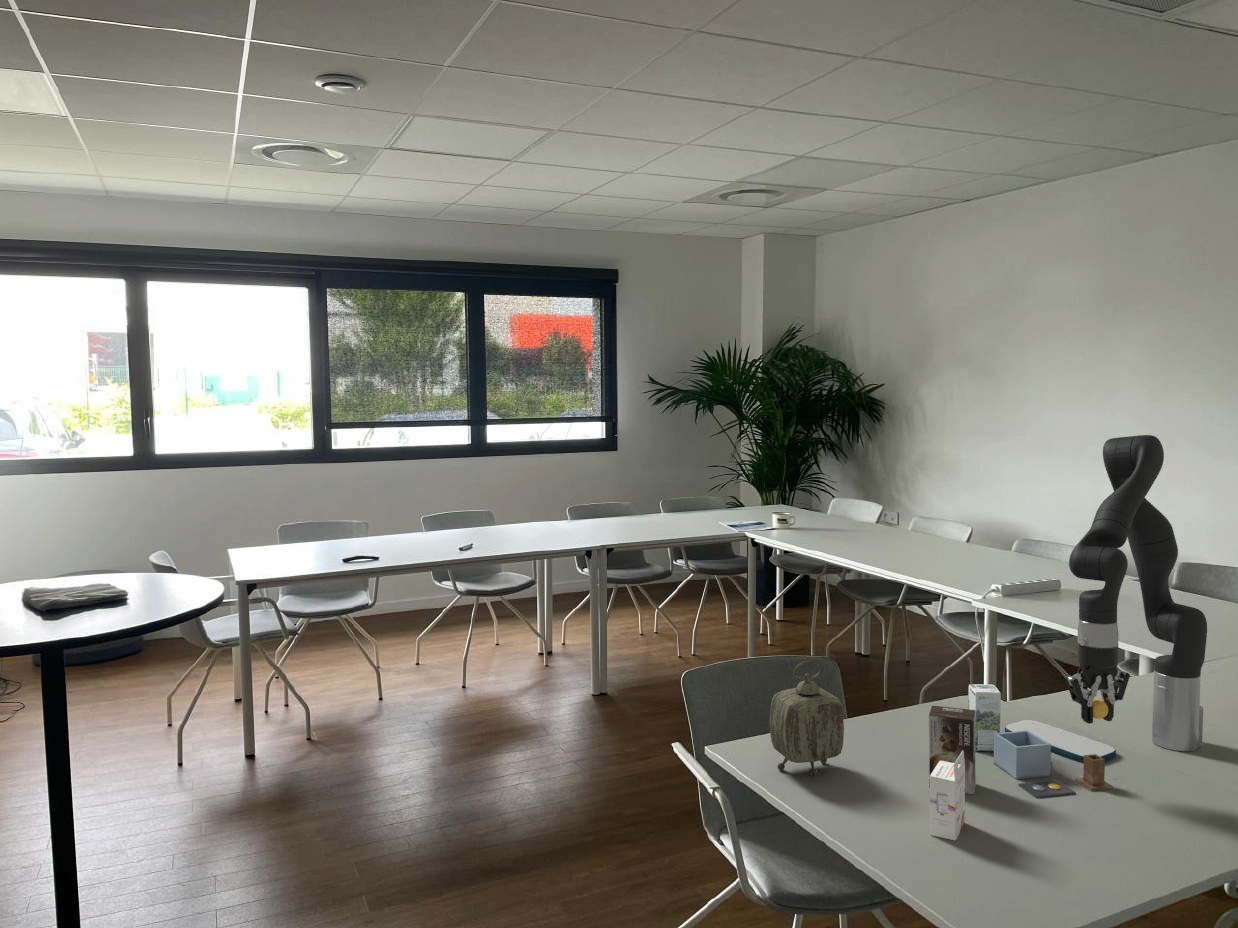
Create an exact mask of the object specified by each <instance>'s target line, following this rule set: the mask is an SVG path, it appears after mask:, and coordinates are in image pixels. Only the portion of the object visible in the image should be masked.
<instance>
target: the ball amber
mask: <svg viewBox="0 0 1238 928" xmlns="http://www.w3.org/2000/svg"><path fill="white" fill-rule="evenodd" d="M1092 707H1093V719H1098V720H1099V719H1100V720H1101V719H1103V718H1104V717H1105V716H1106V715H1107V714H1108V706H1107V704H1106V703H1105V702H1104V700H1103V699H1100V698H1094V700H1093V704H1092Z"/></svg>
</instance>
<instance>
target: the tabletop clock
mask: <svg viewBox="0 0 1238 928" xmlns="http://www.w3.org/2000/svg"><path fill="white" fill-rule="evenodd" d="M806 665H815V666H817V667H818V669H819V671H818V672H817V673H816V674H814V675H812V676H811V675H810V673H808V672H807V673H805V675H804V677H803V676H802V677H801V676H798V675H796V671H797V670H798V669H799V668H801V667H802V666H806ZM822 670H823V669H822V666H821V664H819V662H816V661H814V660H806V661H802V662H799V663H798V664H796V666H795V667H794V669H793V670H792V671H793V672H792V673H793V677H794V678H796V679H797V680H798V681H799V680H800V682H799V683H798V684H797V686H796V687H792V688H787V689H784V690H780V691H779V692H777V693H775V694H773V696H772V699H771V702H770V708H769V709H770V710H769V734H770V741H771V744H772V746H773V749H774V750H775V751H776V752H778V753H779V754H780V755H782V756H783V757H784V760H783V761H782V762H779V763H778V764H777V769H778V770H780V771H784V770H785V765H786V763H787V762H788V761H789V762H792V763H795V764H796V763H797V764H801V763H802V764H803V763H810V766H811V768H810V769H809V774H810V775H811V776H812V777H813V776H814V777H815V776H817V774H818V770H817V769H816V768H815V762H819V761H820V763H821V764H827V761H828V760H829V759H831V758H836V757H837V756H839V755H840V754H841V753H842V750H843V747H844V734H845V725H844V723H845V722H844V711H843V710H844V709H843V705H842V702H841V700H840V698H838V697H837V696H835V695H833V694H832V693H830V692H829V691H828V690H825V689H823V687H819V686H818V684H817V683H816V682H814V681H813V680H815V679H816V678H817V677H819V676H820V675H821V673H822Z"/></svg>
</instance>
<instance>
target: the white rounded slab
mask: <svg viewBox="0 0 1238 928" xmlns="http://www.w3.org/2000/svg"><path fill="white" fill-rule="evenodd" d="M1016 731H1029V732H1031V733H1032V734H1034V735H1036V736H1038V737H1039V738H1041V739H1043V740H1044V741H1046V742H1048V743H1049V744H1051V753H1053V754H1056V755H1059V756H1061V757H1064V758H1067V759H1068V760H1072V761H1076V762H1078V763H1081V764H1084V755H1092V754H1096V755H1098V756H1100V757H1102V758H1103V759H1105V762H1108V761H1111V760H1113V759H1115V758H1116V757H1117V750H1116V748H1115V747H1113V746H1112V745H1109V744H1107V743H1104V742H1101V741H1098V740H1095V739H1093V738H1089V737H1087V736H1083V735H1081V734H1077V733H1074V732H1072V731H1070V730H1069V731H1068V730H1065V729H1063V728H1059V727H1056V726H1054V725H1051V724H1047V723H1044V722H1042V721H1038V720H1034V719H1033V720H1031V719H1022V720H1019V721H1014V722H1012V723H1009V724H1007V725H1005V727H1004V733H1005V732H1016Z"/></svg>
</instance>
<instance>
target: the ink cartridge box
mask: <svg viewBox="0 0 1238 928" xmlns="http://www.w3.org/2000/svg"><path fill="white" fill-rule="evenodd" d="M959 762H961V764H959ZM965 795H966V793H965V761H964V751H962V752H961V754H960V755H959V757H958V758H957V760H956V762H955V763H951V762H946V761H939V763H938V764H937V766H936V767H935V769H934V770H933V772H932V773H931V775H930V788H929V807H930V808H929V814H930V816H929V817H930V819H929V823H930V824H929V825H930V827H929V829H930V831H929V834H930V835H929V836H933V837H935V838H937V837H938V838H941V839H947V840H950V841H957V839H958V838H959V835H960V832H961V830H962V829H963V827H964V824H965V817H966V816H965V813H966V812H965V811H966V808H965V805H966V803H965V802H966V801H965V800H966V797H965Z"/></svg>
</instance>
